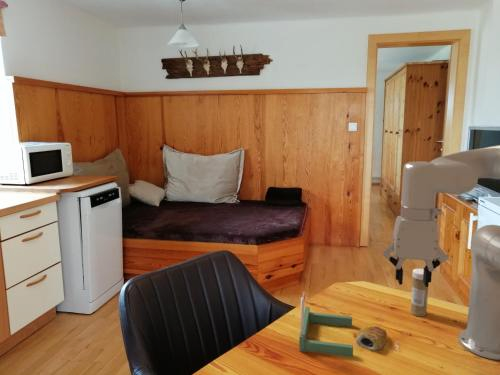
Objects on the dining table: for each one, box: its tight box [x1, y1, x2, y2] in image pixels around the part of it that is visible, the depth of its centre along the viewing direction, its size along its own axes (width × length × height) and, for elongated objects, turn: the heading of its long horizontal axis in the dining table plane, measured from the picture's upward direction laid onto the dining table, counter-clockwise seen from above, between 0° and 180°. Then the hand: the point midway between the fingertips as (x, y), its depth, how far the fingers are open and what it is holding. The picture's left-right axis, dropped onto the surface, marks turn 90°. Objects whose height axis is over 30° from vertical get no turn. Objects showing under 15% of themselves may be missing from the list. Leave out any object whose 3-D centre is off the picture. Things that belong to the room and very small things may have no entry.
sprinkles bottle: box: [410, 268, 429, 317], centre depth 115 cm, size 5×5×14 cm
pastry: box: [355, 325, 388, 352], centre depth 102 cm, size 9×7×4 cm
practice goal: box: [298, 291, 354, 358], centre depth 104 cm, size 13×16×14 cm
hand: (412, 282), depth 97 cm, fingers open, 5 cm apart
